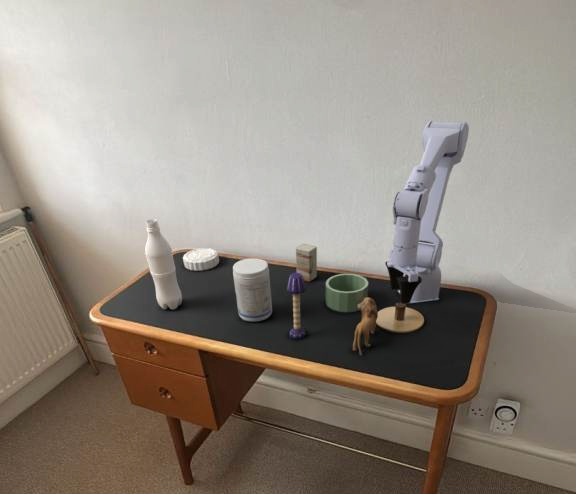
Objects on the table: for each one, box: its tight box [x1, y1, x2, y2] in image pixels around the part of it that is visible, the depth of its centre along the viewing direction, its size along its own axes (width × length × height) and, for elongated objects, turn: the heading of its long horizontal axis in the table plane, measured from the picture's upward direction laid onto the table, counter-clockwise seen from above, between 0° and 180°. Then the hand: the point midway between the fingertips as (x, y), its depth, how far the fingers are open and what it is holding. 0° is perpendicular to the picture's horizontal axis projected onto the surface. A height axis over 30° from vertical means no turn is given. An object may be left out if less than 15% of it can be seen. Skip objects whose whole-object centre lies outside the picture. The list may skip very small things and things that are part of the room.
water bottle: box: [144, 218, 183, 310], centre depth 129 cm, size 7×7×25 cm
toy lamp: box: [286, 272, 307, 340], centre depth 115 cm, size 5×5×17 cm
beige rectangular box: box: [295, 243, 318, 283], centre depth 143 cm, size 5×4×10 cm
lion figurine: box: [352, 296, 379, 356], centre depth 114 cm, size 15×5×9 cm, turn 168°
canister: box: [325, 273, 369, 313], centre depth 130 cm, size 12×12×6 cm
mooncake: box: [182, 247, 220, 272], centre depth 158 cm, size 12×12×4 cm
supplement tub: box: [232, 257, 273, 323], centre depth 125 cm, size 10×10×15 cm
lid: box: [376, 301, 425, 334], centre depth 121 cm, size 13×13×5 cm
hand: (400, 295), depth 118 cm, fingers open, 7 cm apart
